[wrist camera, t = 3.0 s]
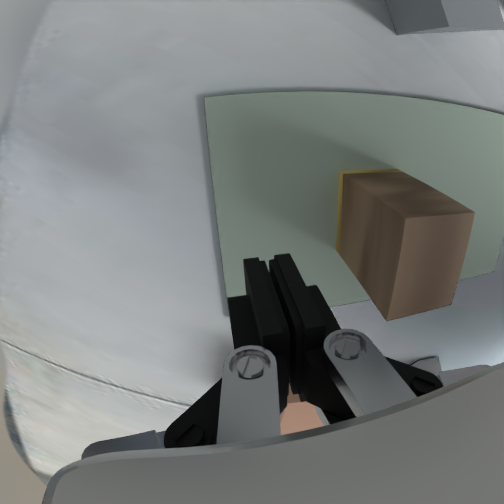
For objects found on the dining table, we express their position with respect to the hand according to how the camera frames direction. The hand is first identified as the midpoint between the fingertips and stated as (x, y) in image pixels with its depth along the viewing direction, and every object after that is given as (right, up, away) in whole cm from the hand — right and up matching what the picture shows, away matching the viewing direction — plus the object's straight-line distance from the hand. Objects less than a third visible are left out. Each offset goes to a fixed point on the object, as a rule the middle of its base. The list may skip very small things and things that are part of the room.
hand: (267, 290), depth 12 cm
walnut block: (+6, +4, +7) cm, 10 cm away
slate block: (+9, +17, +1) cm, 19 cm away
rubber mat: (+9, +5, +7) cm, 13 cm away
